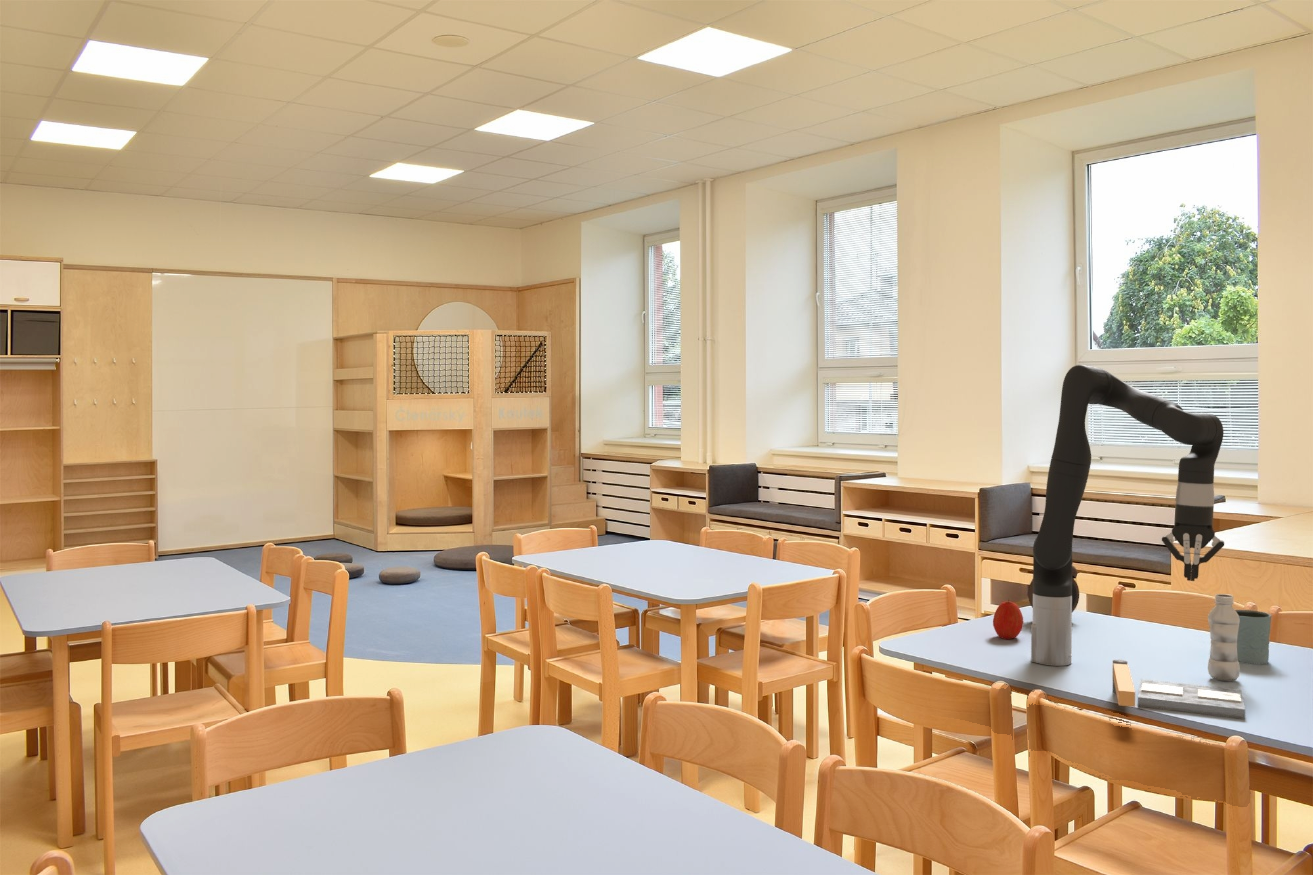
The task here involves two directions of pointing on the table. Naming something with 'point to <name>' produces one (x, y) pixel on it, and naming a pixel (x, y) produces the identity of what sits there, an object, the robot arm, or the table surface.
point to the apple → (1008, 620)
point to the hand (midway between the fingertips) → (1190, 580)
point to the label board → (1191, 698)
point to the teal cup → (1253, 637)
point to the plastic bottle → (1223, 639)
